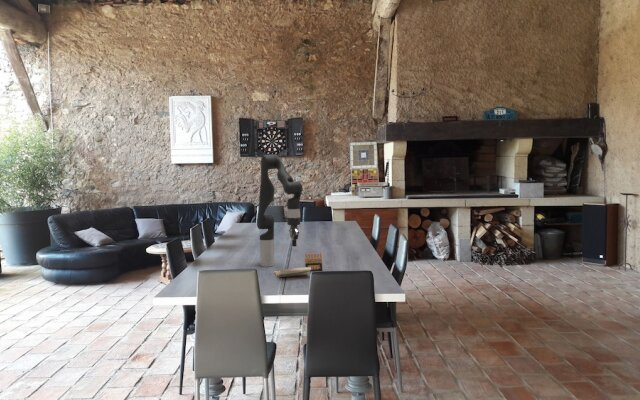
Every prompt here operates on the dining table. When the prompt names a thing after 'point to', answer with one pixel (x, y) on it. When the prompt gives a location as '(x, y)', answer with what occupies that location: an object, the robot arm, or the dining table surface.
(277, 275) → the oak board
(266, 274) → the dining table surface
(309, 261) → the ammunition clip
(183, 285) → the dining table surface
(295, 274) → the birch plank
